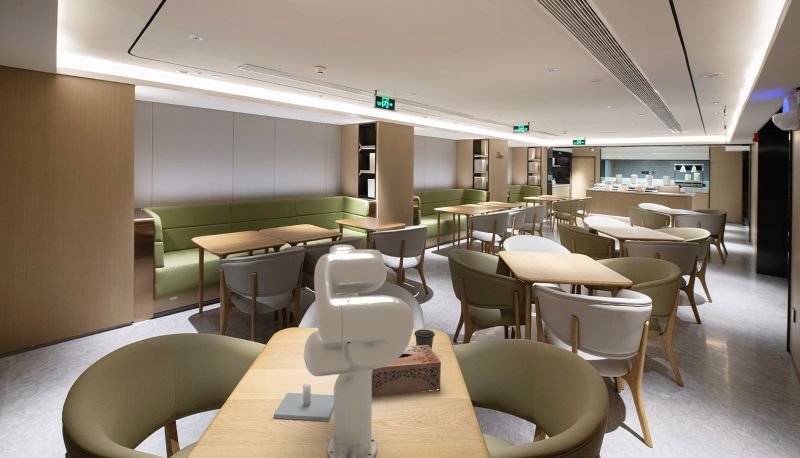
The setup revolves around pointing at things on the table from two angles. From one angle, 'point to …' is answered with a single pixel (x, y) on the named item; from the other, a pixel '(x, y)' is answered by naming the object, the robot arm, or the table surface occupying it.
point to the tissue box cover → (408, 373)
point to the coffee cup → (424, 337)
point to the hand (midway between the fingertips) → (342, 346)
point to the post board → (306, 406)
